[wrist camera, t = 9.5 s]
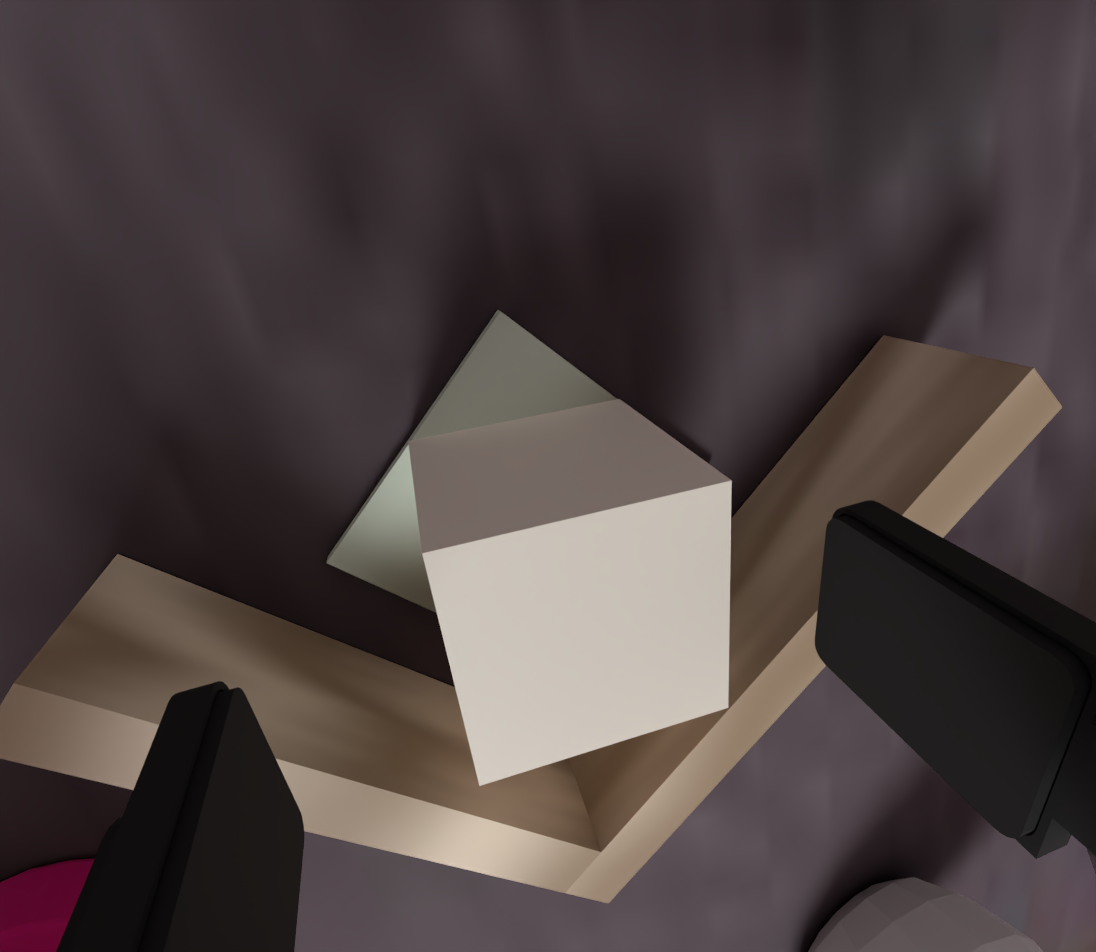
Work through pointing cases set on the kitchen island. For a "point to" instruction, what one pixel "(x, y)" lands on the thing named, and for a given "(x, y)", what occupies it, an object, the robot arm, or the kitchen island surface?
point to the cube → (574, 580)
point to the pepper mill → (40, 905)
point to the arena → (398, 566)
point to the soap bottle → (917, 923)
